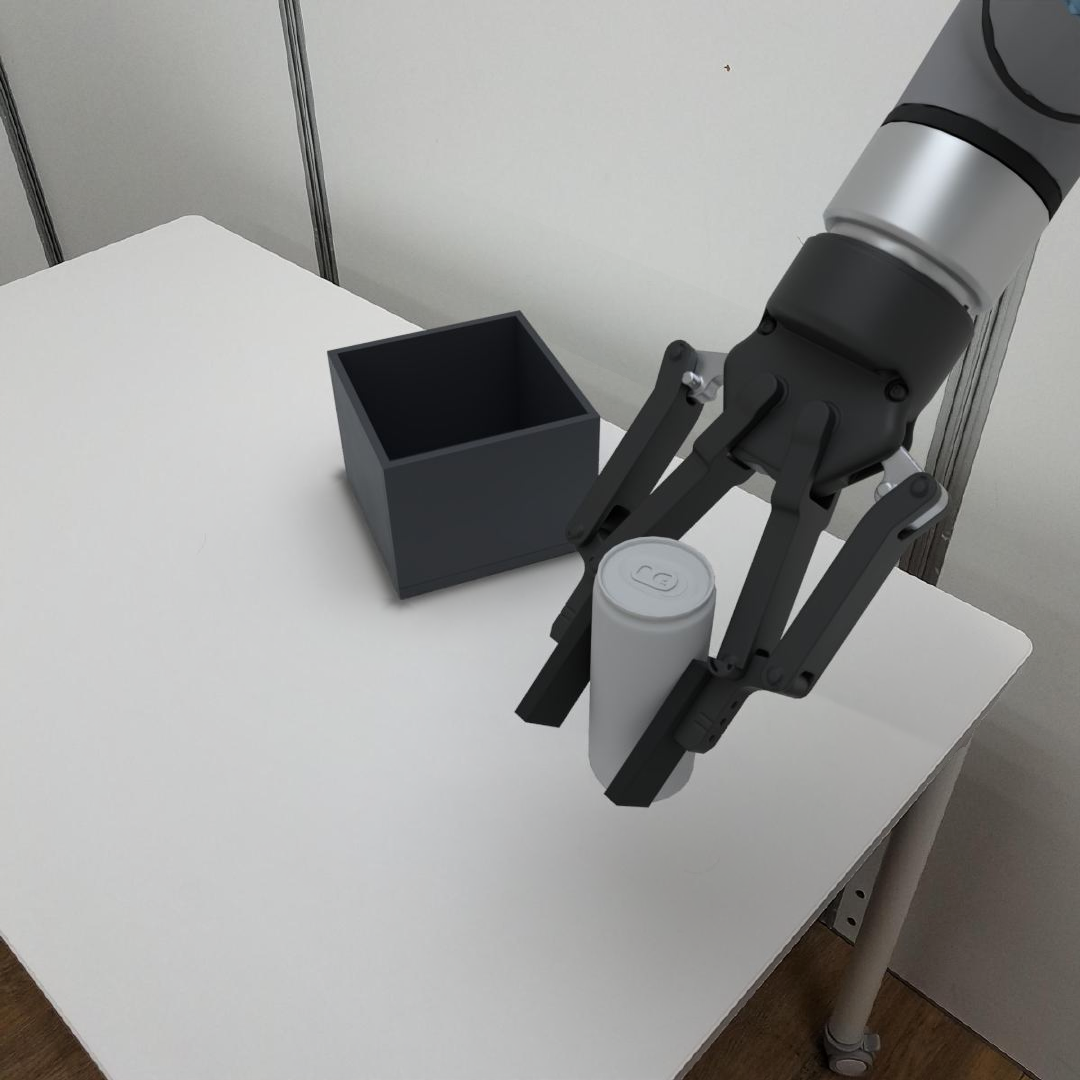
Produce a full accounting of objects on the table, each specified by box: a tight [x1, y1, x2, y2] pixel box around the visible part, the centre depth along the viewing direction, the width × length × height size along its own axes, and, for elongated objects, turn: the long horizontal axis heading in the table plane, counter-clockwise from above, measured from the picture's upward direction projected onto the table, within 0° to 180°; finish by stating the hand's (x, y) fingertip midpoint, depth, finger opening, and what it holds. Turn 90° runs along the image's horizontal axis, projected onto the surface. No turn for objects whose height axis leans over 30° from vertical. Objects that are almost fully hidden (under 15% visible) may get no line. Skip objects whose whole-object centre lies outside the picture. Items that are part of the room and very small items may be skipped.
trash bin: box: [326, 309, 601, 600], centre depth 77 cm, size 14×14×11 cm
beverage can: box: [587, 537, 717, 803], centre depth 47 cm, size 5×5×12 cm
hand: (580, 758), depth 47 cm, fingers closed on beverage can, 5 cm apart
